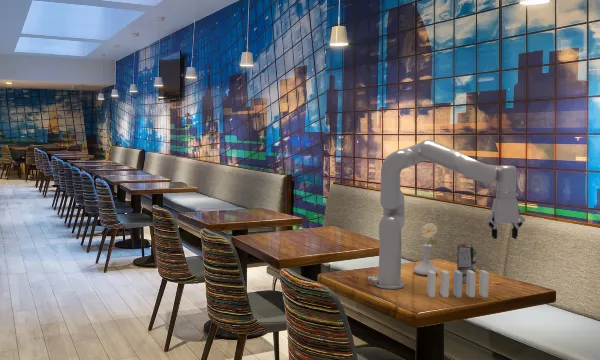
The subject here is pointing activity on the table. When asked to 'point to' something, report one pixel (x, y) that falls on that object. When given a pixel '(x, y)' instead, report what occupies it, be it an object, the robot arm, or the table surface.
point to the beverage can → (474, 260)
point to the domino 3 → (457, 283)
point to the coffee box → (464, 259)
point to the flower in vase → (427, 250)
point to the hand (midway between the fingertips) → (504, 238)
